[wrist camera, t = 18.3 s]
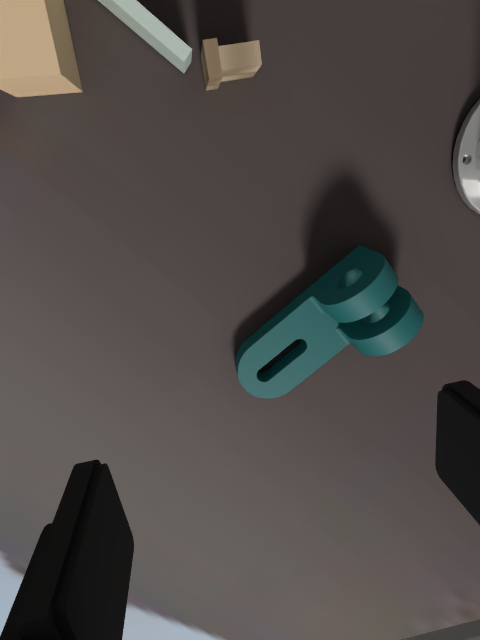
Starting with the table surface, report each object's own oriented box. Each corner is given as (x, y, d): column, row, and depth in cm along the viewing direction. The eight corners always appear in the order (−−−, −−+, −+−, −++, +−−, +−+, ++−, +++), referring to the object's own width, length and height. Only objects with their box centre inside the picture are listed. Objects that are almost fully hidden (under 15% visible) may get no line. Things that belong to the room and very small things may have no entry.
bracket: (358, 244, 39) (399, 260, 32) (393, 292, 41) (438, 318, 34) (222, 358, 41) (230, 398, 34) (262, 398, 44) (277, 444, 36)
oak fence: (249, 49, 32) (258, 31, 28) (253, 83, 33) (263, 70, 29) (-72, 96, 30) (-110, 85, 26) (-58, 131, 31) (-93, 125, 27)
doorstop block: (56, -34, 28) (25, -85, 23) (82, 92, 31) (60, 74, 26) (-17, -31, 28) (-67, -82, 22) (17, 97, 31) (-20, 80, 25)
